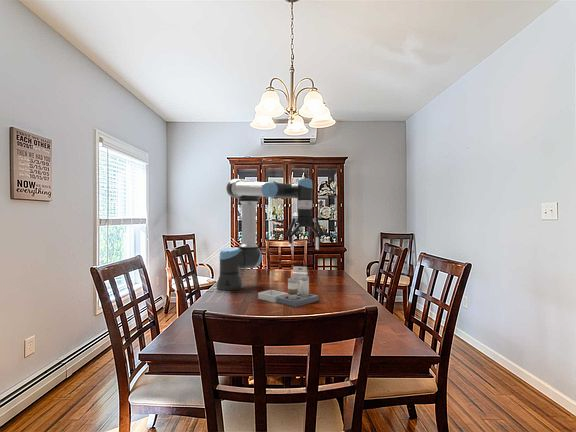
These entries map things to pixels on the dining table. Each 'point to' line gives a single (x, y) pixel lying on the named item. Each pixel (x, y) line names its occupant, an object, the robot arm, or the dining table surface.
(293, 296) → the fuse
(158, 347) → the dining table surface
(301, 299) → the fuse panel
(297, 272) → the grey stepped block
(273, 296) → the parts tray
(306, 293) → the fuse
